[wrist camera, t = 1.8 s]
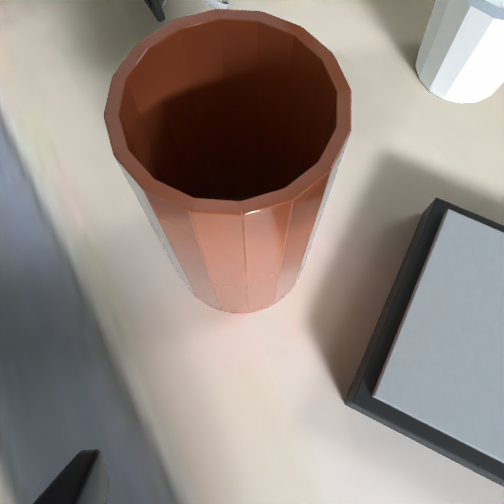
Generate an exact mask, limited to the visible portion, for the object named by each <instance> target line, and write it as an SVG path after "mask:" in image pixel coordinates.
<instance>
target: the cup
mask: <svg viewBox="0 0 504 504" xmlns="http://www.w3.org/2000/svg"><path fill="white" fill-rule="evenodd" d="M104 120H105V123H106V127H107V131H108V135H109V139H110V143H111V147H112V151H113V155H114V157H115V159H116V160H117V162H118V164H119V166H120V168H121V170H122V171H123V173H124V175H125V177H126V179H127V181H128V182H129V184H130V186H131V188H132V190H133V192H134V193H135V195H136V197H137V199H138V201H139V203H140V204H141V206H142V208H143V210H144V212H145V214H146V215H147V217H148V219H149V221H150V223H151V225H152V226H153V228H154V230H155V232H156V234H157V236H158V237H159V239H160V241H161V243H162V245H163V246H164V248H165V250H166V252H167V254H168V256H169V257H170V259H171V261H172V263H173V265H174V267H175V268H176V270H177V272H178V274H179V276H180V278H181V279H182V280H183V282H184V283H185V284H186V286H187V287H188V288H189V290H190V291H191V292H192V293H193V294H194V295H195V296H196V297H197V298H198V299H200V300H201V301H202V302H204V303H206V304H207V305H209V306H211V307H213V308H216V309H218V310H222V311H225V312H231V313H248V312H254V311H258V310H262V309H264V308H267V307H269V306H271V305H273V304H275V303H276V302H278V301H279V300H280V299H282V298H283V297H284V296H285V295H286V294H287V293H288V292H289V291H290V290H291V289H292V288H293V286H294V285H295V283H296V281H297V280H298V278H299V276H300V273H301V271H302V269H303V267H304V265H305V262H306V259H307V256H308V254H309V251H310V248H311V245H312V242H313V239H314V236H315V234H316V231H317V228H318V225H319V222H320V219H321V216H322V213H323V211H324V208H325V205H326V202H327V199H328V196H329V193H330V190H331V188H332V185H333V182H334V179H335V176H336V173H337V170H338V167H339V165H340V162H341V159H342V156H343V153H344V150H345V147H346V144H347V142H348V139H349V136H350V132H351V89H350V87H349V85H348V83H347V81H346V79H345V77H344V75H343V73H342V71H341V68H340V66H339V64H338V62H337V60H336V58H335V56H334V55H333V53H332V52H331V51H329V50H328V49H327V48H326V47H325V46H324V45H322V44H321V43H320V42H319V41H318V40H317V39H316V38H314V37H313V36H312V35H311V34H310V33H309V32H307V31H306V30H305V29H304V28H301V26H299V25H296V24H293V23H291V22H288V21H286V20H283V19H280V18H278V17H275V16H273V15H270V14H267V13H265V12H260V11H247V10H229V9H218V10H217V9H215V10H210V11H206V12H202V13H198V14H194V15H190V16H186V17H182V18H178V19H175V20H173V21H171V22H169V23H168V24H166V25H165V26H163V27H161V28H160V29H158V30H157V31H155V32H153V33H152V34H150V35H149V36H147V37H146V38H144V39H142V40H141V41H139V42H138V43H137V44H136V45H135V47H134V48H133V49H132V51H131V52H130V53H129V55H128V56H127V57H126V59H125V60H124V61H123V62H122V64H121V65H120V66H119V68H118V69H117V70H116V72H115V73H114V75H113V77H112V81H111V85H110V89H109V94H108V98H107V103H106V107H105V112H104Z"/></svg>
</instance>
